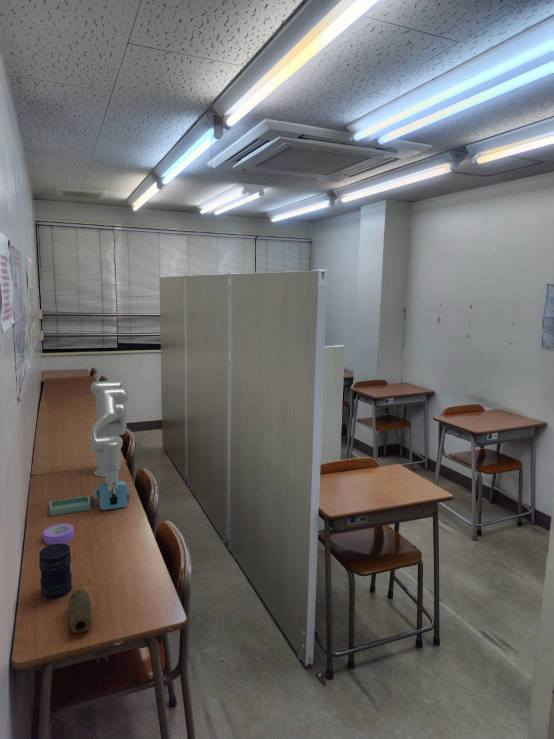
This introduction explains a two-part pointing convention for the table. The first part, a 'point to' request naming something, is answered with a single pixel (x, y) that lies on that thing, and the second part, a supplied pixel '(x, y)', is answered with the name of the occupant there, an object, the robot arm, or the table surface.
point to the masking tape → (59, 534)
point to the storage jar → (55, 571)
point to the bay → (97, 495)
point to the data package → (106, 496)
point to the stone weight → (79, 611)
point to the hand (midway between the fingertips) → (113, 501)
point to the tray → (69, 505)
